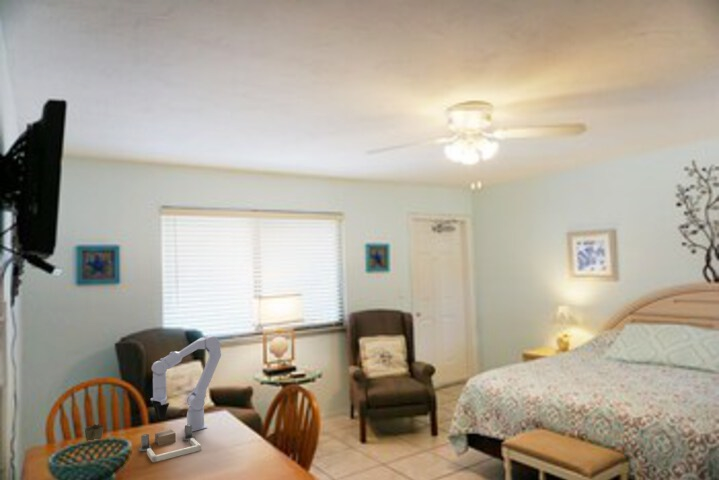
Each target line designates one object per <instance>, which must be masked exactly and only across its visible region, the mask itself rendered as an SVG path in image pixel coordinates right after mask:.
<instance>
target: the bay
mask: <svg viewBox="0 0 719 480" xmlns="http://www.w3.org/2000/svg"><path fill="white" fill-rule="evenodd" d="M189 444H190V445H191V446H188V447H185V448H179V449H175V450H171V451H167V452H164V453H159V454H155V452H154V451H153V448H152V449H151V448H149V449H147V451H146V455H147V456H148V458H149V459H150V461H151V462H152V463H156V462H161V461H164V460H168V459H173V458H176V457H179V456H183V455H187V454H190V453H191V454H192V453H195V452H200V451H202V445H201V444H200V443H199V441H197V440H196V439H194V438H191V439H190V441H189Z"/></svg>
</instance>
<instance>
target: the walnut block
mask: <svg viewBox="0 0 719 480" xmlns="http://www.w3.org/2000/svg"><path fill="white" fill-rule="evenodd" d="M176 440H177V437H176V432H175V431H174V430H173V429H171V428H169V429H166V430H162V431H157V432H154V442H155V443H156V444H157V445H158V446H159V445H160V446H164V445H167V444H171V443H175V442H176Z"/></svg>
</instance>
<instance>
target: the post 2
mask: <svg viewBox="0 0 719 480" xmlns="http://www.w3.org/2000/svg"><path fill="white" fill-rule="evenodd" d="M195 437H196V436H195V435H193V431H192V425H191V424H189V425H187V424H186V425H184V436H183V437H182V441H183V442H190V439H191V438H194V439H195ZM195 440H196V439H195Z"/></svg>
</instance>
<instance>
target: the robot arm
mask: <svg viewBox="0 0 719 480" xmlns="http://www.w3.org/2000/svg"><path fill="white" fill-rule="evenodd" d="M197 350H206V352H207V354H208V359H207V361H206V363H205V366H204V368H203V370H202V372H201V374H200V377H199V379H198V382H197V384H196V386H195V388H194V389H193V390H192V392H191V393H190V394H189V395H188V396H187V399H186V404H187V405H188V408H187V413H186V425H189V424H191V425H192V432H195V431H200V430H205V429H208V426H207V425H205V410H204V409H205V407H204V406H205V399H206V397H207V395H206V394H207V390H208V387H209V384H210V382H211V380H212V378H213V375H214V373H215V371H216V369H217V366H218V364H219V363H220V362H219V361H220V359H221V356H222V353H221V351H222V350H221V342H220V341H219V338H217V337H216V336H214V335H211V334H206V335H204V336H203V337H199V338H198V339H196V340H195V341H193V342H192V343H190V344H188V345H187V346H186V347H184V348H182V349H181V350H180V351H170V352H169V354H168V355H166V356H165V357H161V358H160V359H159V360H157V361H154V362H153V364H152V365H151V367H150V368H151V371H152V397H151V398H150V402H151V404H152V405H153V408H154V413H155V416H156V417H158V418H159V420H161V421H162V420H165V419H166V417H167V410H168V407H169V406H170V402H167V399H168V395H167V376H166V374H167V373H166V372H167V371H168V370H169V369H171V368H173V367H174V366H176V365H178V364H180V363H181V362H182V360H183V358H184V357H186V356H188V355H190V354H192V353H193V352H195V351H197Z"/></svg>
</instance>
